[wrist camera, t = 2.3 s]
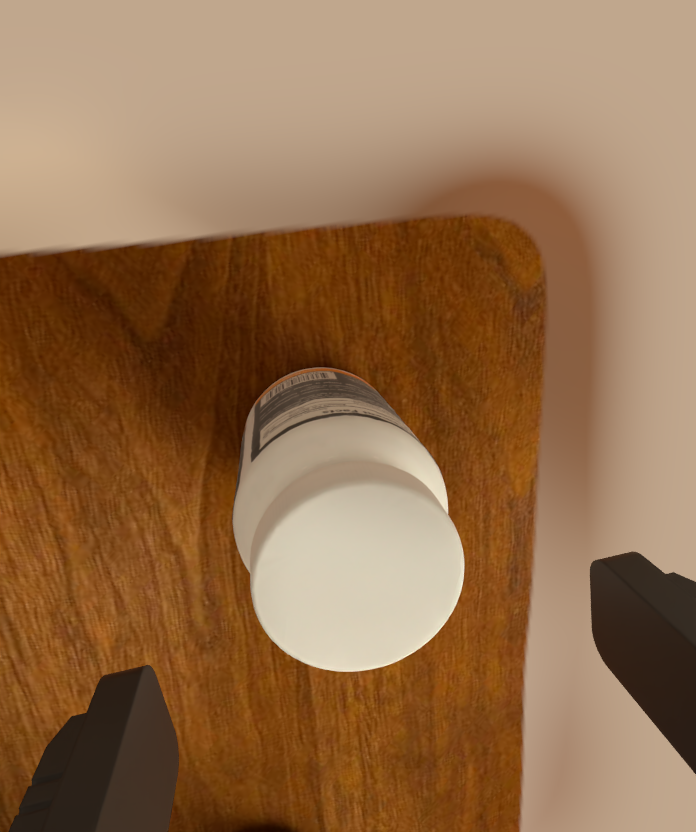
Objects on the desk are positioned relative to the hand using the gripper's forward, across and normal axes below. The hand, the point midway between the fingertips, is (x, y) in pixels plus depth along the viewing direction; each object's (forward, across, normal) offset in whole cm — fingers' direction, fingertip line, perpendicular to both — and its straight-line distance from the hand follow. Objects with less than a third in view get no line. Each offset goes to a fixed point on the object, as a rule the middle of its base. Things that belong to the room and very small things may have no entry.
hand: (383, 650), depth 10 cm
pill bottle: (+12, 0, 0) cm, 12 cm away
